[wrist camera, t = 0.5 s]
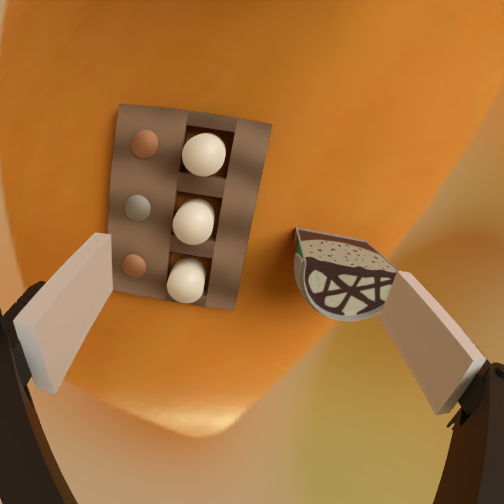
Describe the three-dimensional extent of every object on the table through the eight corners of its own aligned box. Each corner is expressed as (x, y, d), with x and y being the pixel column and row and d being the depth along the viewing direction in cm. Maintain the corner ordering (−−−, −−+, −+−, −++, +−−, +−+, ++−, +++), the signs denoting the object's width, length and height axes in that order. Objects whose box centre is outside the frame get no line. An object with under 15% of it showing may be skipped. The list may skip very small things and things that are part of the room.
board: (125, 104, 30) (118, 104, 28) (270, 124, 32) (272, 124, 30) (112, 281, 39) (107, 290, 37) (233, 302, 41) (233, 311, 39)
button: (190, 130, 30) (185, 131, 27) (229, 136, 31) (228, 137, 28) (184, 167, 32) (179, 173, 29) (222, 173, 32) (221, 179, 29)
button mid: (180, 195, 33) (175, 203, 30) (217, 201, 34) (215, 209, 31) (176, 230, 35) (170, 241, 32) (211, 235, 35) (209, 247, 32)
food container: (271, 272, 39) (282, 319, 30) (283, 225, 37) (299, 262, 28) (360, 285, 41) (390, 329, 32) (376, 242, 38) (413, 279, 29)
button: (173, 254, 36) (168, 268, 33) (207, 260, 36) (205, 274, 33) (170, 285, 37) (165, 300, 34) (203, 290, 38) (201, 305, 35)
